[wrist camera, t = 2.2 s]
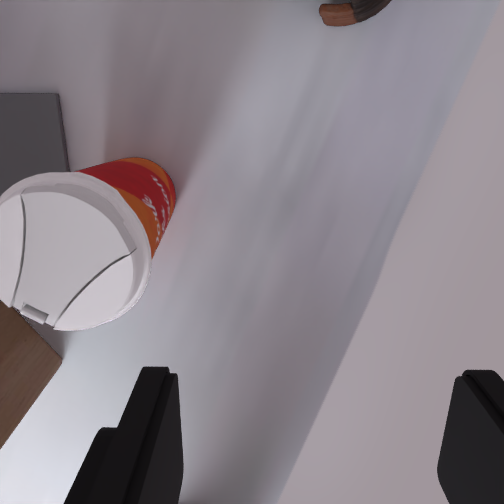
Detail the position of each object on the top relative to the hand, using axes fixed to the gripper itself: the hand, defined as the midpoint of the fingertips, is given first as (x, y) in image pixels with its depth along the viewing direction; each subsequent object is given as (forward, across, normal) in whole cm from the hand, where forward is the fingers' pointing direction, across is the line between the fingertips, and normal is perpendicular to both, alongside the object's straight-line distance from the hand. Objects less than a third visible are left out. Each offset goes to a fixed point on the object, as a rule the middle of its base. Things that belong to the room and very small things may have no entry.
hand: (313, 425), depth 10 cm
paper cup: (+24, +10, 0) cm, 26 cm away
